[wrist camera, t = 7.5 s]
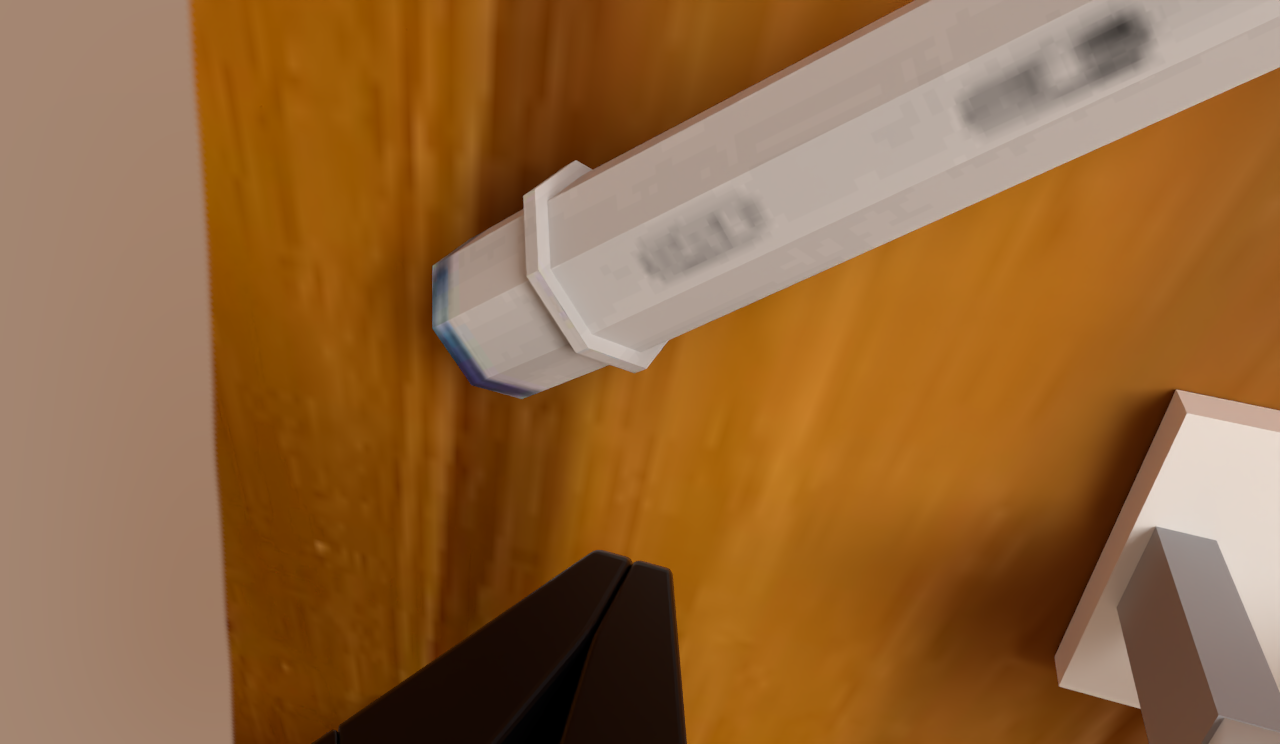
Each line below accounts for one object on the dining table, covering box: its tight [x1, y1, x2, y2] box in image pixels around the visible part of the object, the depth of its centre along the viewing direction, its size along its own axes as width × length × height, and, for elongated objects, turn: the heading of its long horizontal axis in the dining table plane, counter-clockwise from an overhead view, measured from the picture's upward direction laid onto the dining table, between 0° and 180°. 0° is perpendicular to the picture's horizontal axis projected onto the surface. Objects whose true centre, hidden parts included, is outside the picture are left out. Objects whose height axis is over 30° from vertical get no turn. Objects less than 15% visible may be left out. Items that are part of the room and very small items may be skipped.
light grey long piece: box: [432, 0, 1280, 399], centre depth 15 cm, size 5×7×25 cm
